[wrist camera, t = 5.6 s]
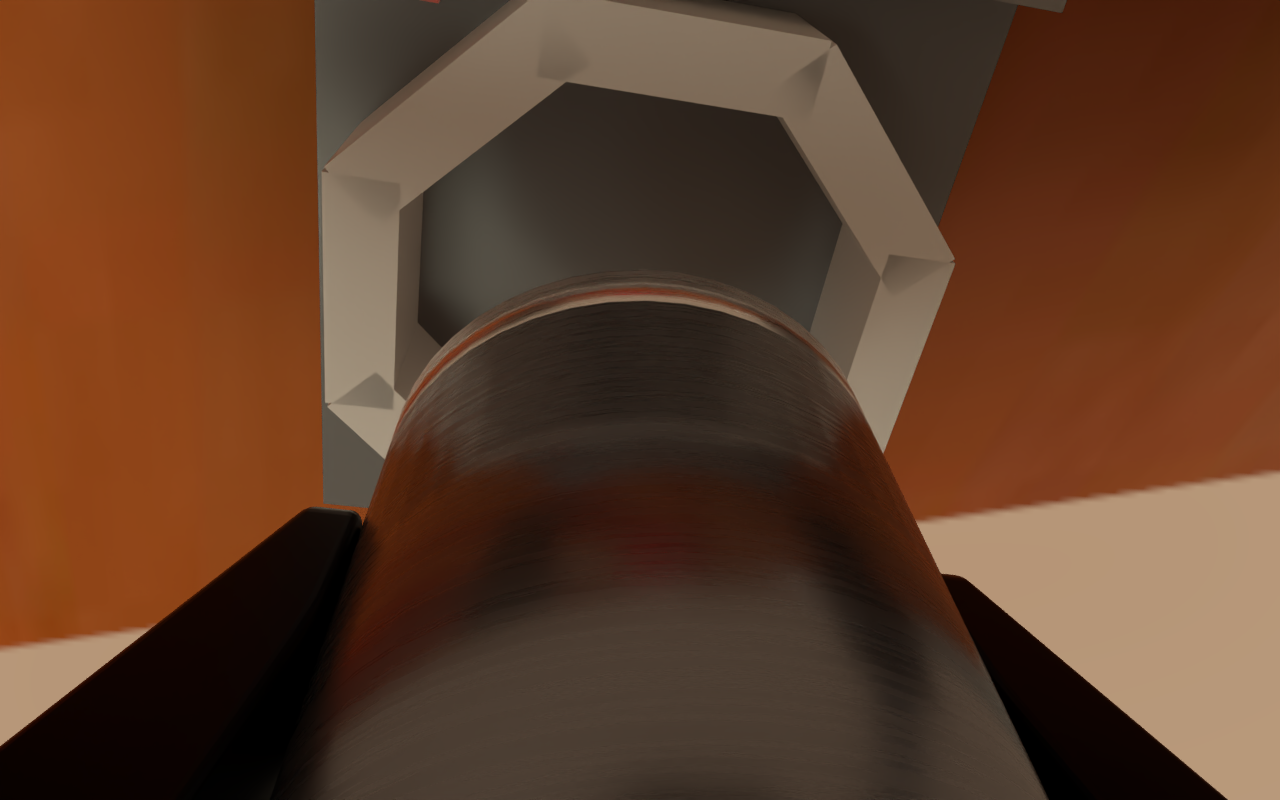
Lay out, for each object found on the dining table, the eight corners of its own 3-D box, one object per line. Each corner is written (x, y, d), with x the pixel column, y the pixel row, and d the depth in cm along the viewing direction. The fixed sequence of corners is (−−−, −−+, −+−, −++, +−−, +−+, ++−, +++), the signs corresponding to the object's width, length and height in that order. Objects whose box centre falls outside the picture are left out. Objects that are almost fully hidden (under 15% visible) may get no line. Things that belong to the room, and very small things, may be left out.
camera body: (960, -201, 14) (1199, -236, 9) (776, 420, 20) (848, 631, 15) (388, -327, 13) (244, -460, 7) (375, 374, 19) (291, 584, 14)
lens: (934, 309, 8) (1590, 1194, 3) (795, 669, 10) (1000, 1498, 5) (401, 230, 7) (-73, 1176, 2) (384, 632, 10) (143, 1534, 4)
